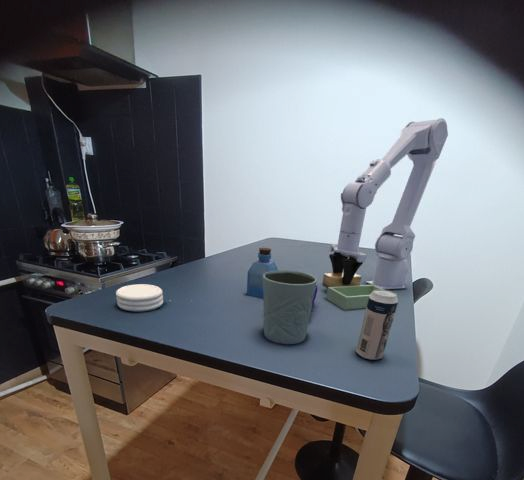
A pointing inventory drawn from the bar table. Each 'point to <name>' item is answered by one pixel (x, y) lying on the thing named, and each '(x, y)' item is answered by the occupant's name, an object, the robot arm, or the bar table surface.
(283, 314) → the green embossed cup
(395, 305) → the beer can
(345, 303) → the eraser holder
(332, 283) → the eraser
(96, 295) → the bar table surface
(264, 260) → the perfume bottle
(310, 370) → the bar table surface
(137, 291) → the coaster
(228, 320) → the bar table surface
